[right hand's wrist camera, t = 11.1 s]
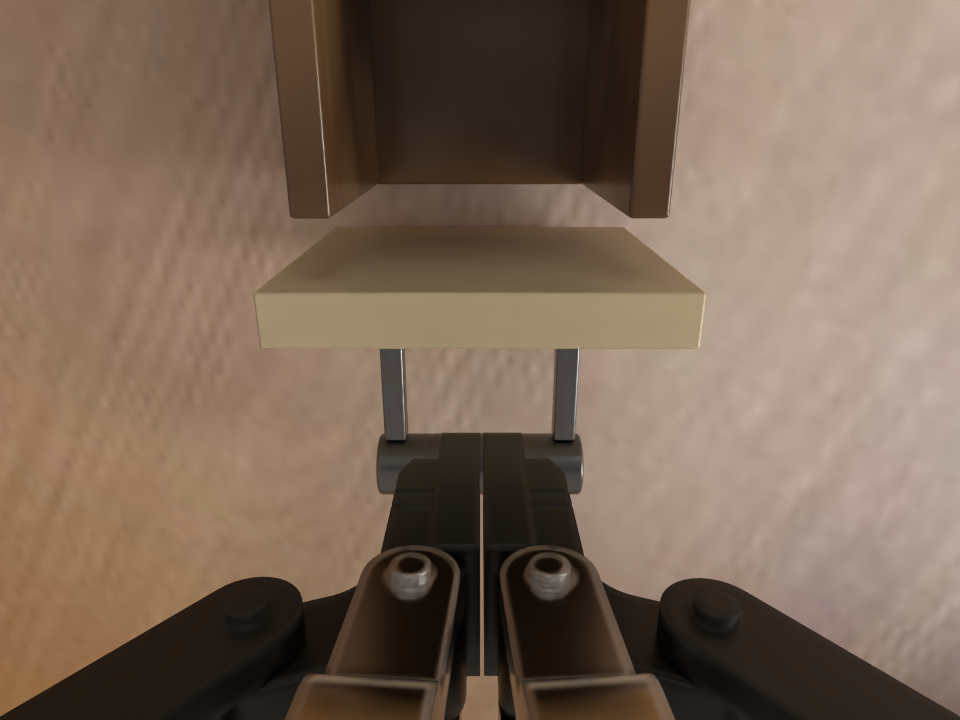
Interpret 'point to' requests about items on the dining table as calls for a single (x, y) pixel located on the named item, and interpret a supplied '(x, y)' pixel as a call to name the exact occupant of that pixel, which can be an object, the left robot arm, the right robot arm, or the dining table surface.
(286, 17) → the drawer
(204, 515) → the dining table surface
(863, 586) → the dining table surface
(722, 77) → the dining table surface
